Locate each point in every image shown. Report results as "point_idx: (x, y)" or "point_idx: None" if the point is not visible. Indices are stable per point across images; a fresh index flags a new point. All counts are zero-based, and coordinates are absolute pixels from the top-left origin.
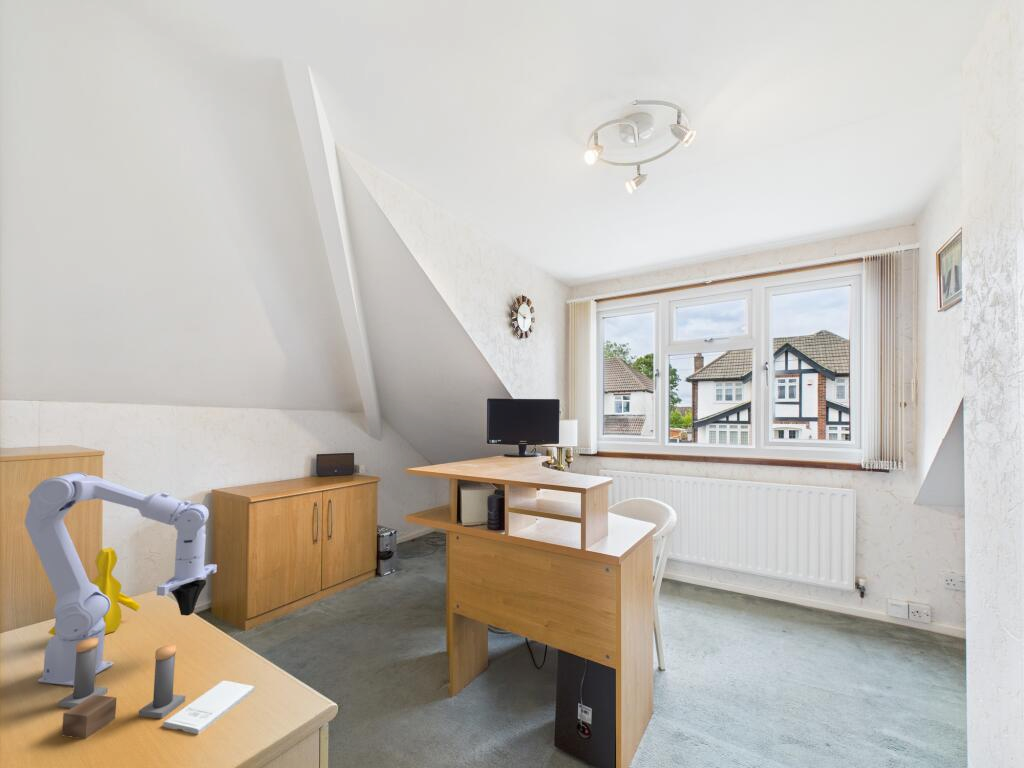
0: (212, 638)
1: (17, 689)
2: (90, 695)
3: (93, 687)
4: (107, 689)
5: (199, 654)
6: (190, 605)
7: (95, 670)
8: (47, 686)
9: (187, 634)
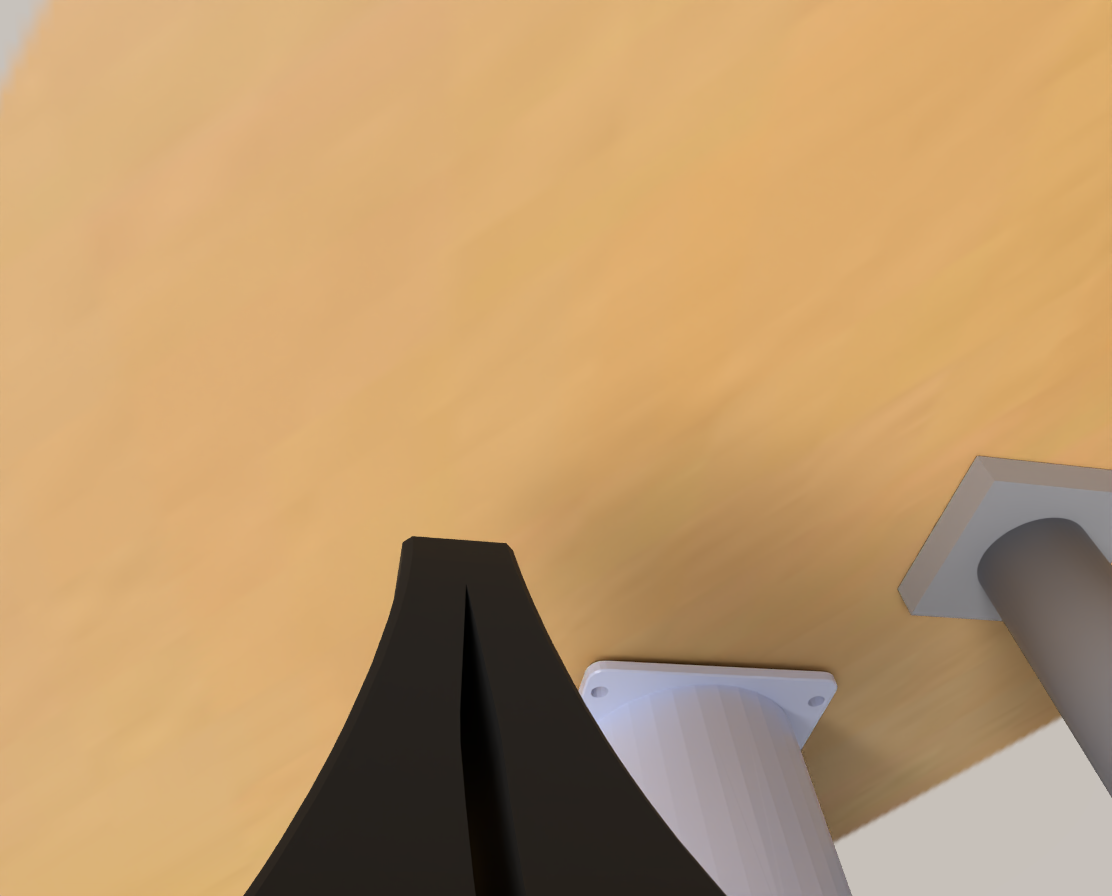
0: (39, 178)
1: None
2: (1068, 510)
3: (1054, 546)
4: (985, 470)
5: (426, 91)
6: (540, 667)
7: (1095, 647)
8: None
9: (40, 493)
